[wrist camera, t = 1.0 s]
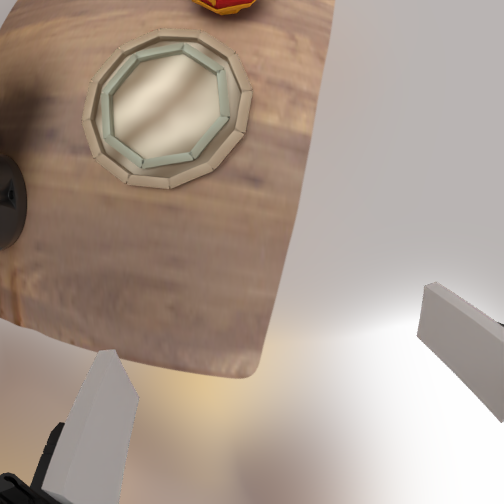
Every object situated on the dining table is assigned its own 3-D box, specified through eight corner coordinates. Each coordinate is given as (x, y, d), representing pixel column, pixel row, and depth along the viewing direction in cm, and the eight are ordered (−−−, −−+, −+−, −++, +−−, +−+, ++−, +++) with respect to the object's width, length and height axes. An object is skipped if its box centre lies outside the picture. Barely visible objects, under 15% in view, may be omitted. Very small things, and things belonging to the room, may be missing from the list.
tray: (67, 131, 29) (56, 129, 26) (162, 16, 26) (159, 6, 23) (178, 217, 34) (174, 222, 31) (280, 94, 31) (285, 89, 28)
